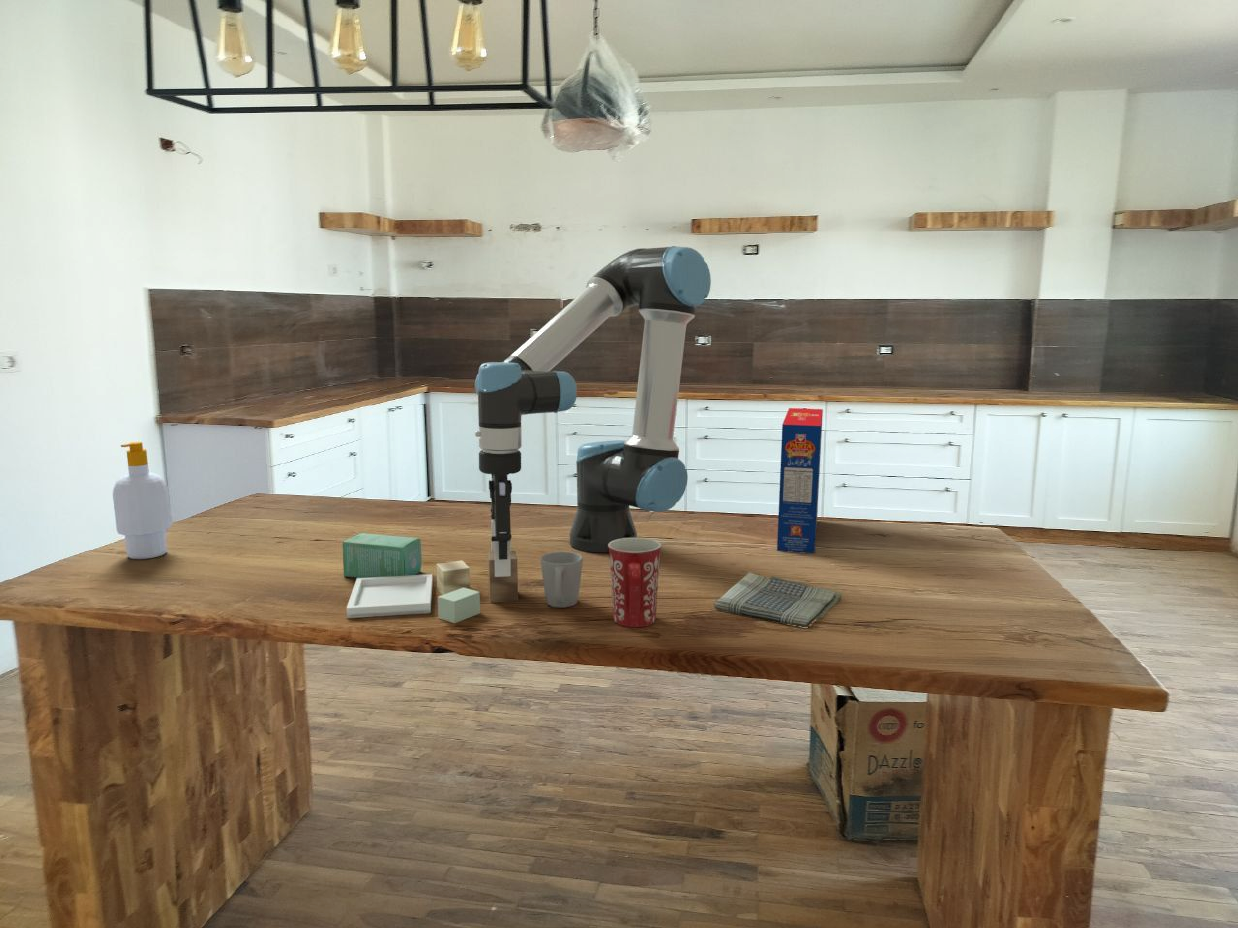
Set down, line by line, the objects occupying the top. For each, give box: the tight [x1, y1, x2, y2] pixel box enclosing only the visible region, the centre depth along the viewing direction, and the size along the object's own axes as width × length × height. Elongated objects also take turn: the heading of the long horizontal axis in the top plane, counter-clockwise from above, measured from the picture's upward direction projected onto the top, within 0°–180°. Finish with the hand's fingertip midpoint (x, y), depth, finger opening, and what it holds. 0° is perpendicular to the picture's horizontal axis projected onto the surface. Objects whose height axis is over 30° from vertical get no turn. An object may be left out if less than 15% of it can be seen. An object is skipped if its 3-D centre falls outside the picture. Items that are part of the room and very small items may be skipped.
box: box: [342, 532, 423, 579], centre depth 169 cm, size 7×14×8 cm, turn 77°
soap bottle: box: [112, 441, 173, 560], centre depth 179 cm, size 10×10×24 cm
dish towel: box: [713, 572, 843, 627], centre depth 155 cm, size 19×18×3 cm
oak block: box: [435, 560, 471, 595], centre depth 160 cm, size 5×5×5 cm
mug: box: [608, 537, 663, 628], centre depth 143 cm, size 13×9×14 cm
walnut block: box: [487, 550, 519, 604], centre depth 157 cm, size 5×5×8 cm
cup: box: [540, 551, 584, 609], centre depth 153 cm, size 8×10×8 cm
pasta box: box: [776, 407, 824, 554], centre depth 196 cm, size 28×8×28 cm, turn 166°
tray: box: [346, 573, 434, 619], centre depth 155 cm, size 14×16×2 cm
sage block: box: [437, 587, 481, 624], centre depth 148 cm, size 6×4×4 cm, turn 144°
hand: (500, 564), depth 156 cm, fingers open, 13 cm apart
